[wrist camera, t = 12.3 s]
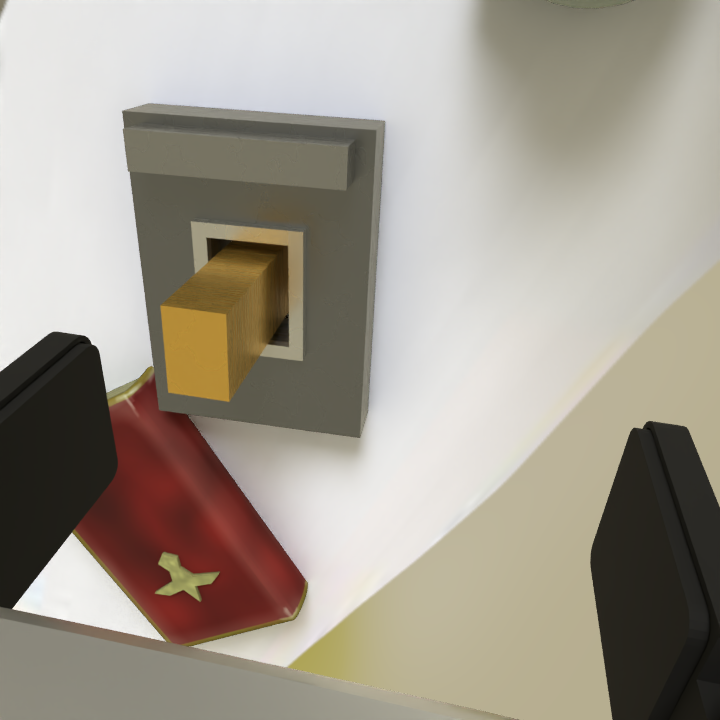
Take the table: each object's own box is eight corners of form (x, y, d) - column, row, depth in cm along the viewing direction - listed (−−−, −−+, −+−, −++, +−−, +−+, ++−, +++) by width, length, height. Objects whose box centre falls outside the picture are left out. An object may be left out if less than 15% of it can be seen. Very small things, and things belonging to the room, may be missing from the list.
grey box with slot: (149, 103, 36) (102, 116, 31) (385, 120, 34) (370, 137, 30) (178, 386, 44) (144, 427, 40) (367, 411, 43) (354, 457, 38)
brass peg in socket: (242, 231, 38) (160, 305, 29) (292, 236, 38) (225, 314, 28) (244, 301, 40) (168, 392, 31) (291, 307, 40) (229, 401, 30)
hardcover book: (157, 361, 44) (127, 393, 41) (311, 578, 51) (297, 621, 48) (34, 418, 48) (-3, 451, 45) (193, 611, 56) (172, 653, 52)
